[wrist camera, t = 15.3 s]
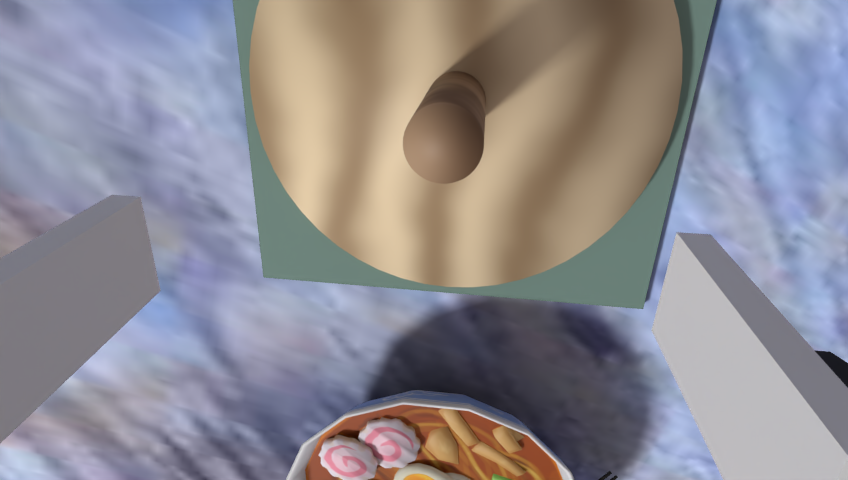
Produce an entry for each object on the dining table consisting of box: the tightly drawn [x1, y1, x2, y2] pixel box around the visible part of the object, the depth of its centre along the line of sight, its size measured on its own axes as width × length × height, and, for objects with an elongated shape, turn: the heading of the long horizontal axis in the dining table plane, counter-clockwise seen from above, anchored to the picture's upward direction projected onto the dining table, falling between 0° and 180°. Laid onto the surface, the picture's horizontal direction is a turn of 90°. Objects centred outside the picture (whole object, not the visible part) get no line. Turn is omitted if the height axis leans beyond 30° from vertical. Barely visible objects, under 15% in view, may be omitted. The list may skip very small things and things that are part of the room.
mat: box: [233, 0, 717, 309], centre depth 34 cm, size 28×28×1 cm
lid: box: [249, 0, 683, 287], centre depth 29 cm, size 26×26×11 cm
